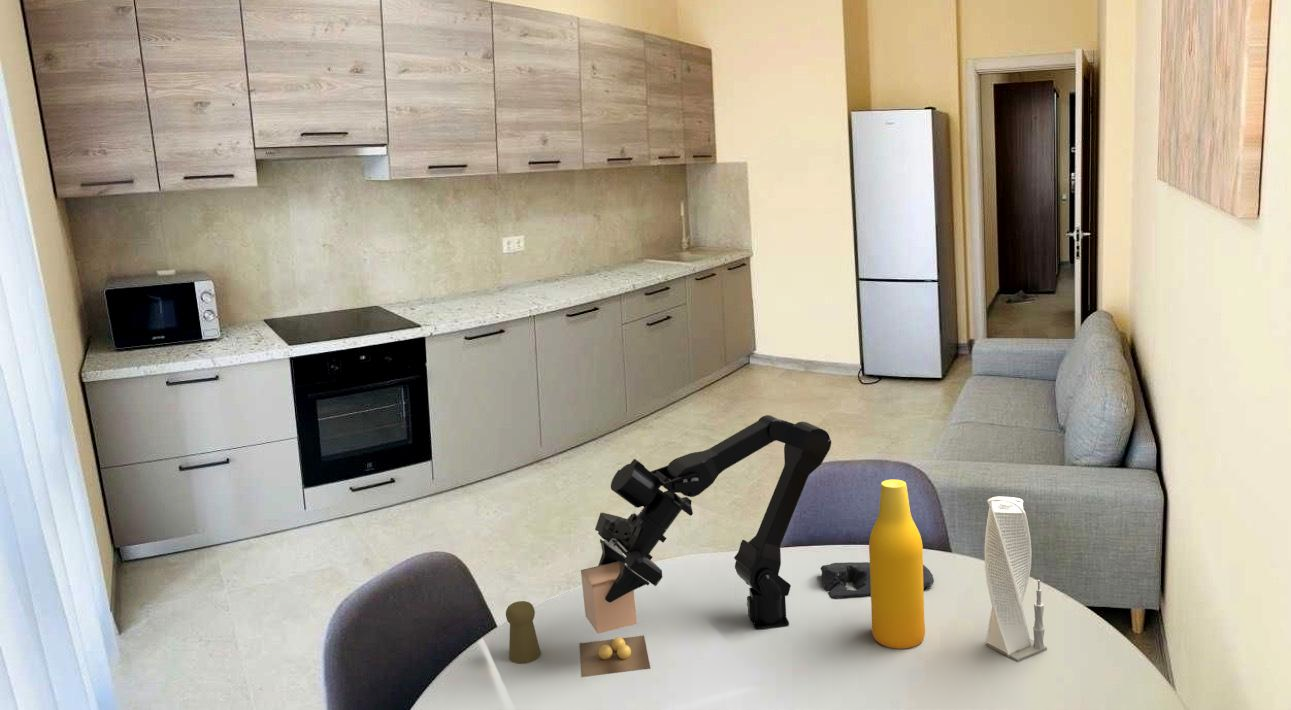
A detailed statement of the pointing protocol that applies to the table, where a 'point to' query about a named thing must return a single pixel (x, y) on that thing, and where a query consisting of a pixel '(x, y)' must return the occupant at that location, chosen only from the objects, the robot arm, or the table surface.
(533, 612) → the olive pawn game piece
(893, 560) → the beer bottle
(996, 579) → the skyscraper
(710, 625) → the table surface
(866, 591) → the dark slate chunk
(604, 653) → the amber marbles
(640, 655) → the walnut pad
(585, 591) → the tan upright cuboid
